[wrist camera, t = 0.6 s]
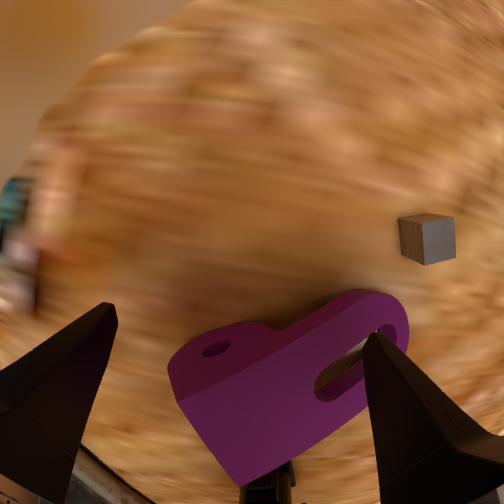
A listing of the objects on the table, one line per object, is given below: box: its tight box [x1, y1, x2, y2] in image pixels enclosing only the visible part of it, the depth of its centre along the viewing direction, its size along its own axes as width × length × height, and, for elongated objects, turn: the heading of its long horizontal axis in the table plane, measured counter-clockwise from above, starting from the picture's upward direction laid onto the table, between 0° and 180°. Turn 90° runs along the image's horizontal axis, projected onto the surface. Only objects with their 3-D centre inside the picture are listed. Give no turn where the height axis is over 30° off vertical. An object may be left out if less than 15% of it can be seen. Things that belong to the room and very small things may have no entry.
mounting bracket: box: [167, 290, 409, 487], centre depth 22 cm, size 10×8×18 cm
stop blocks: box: [398, 213, 456, 266], centre depth 21 cm, size 20×3×4 cm, turn 11°
